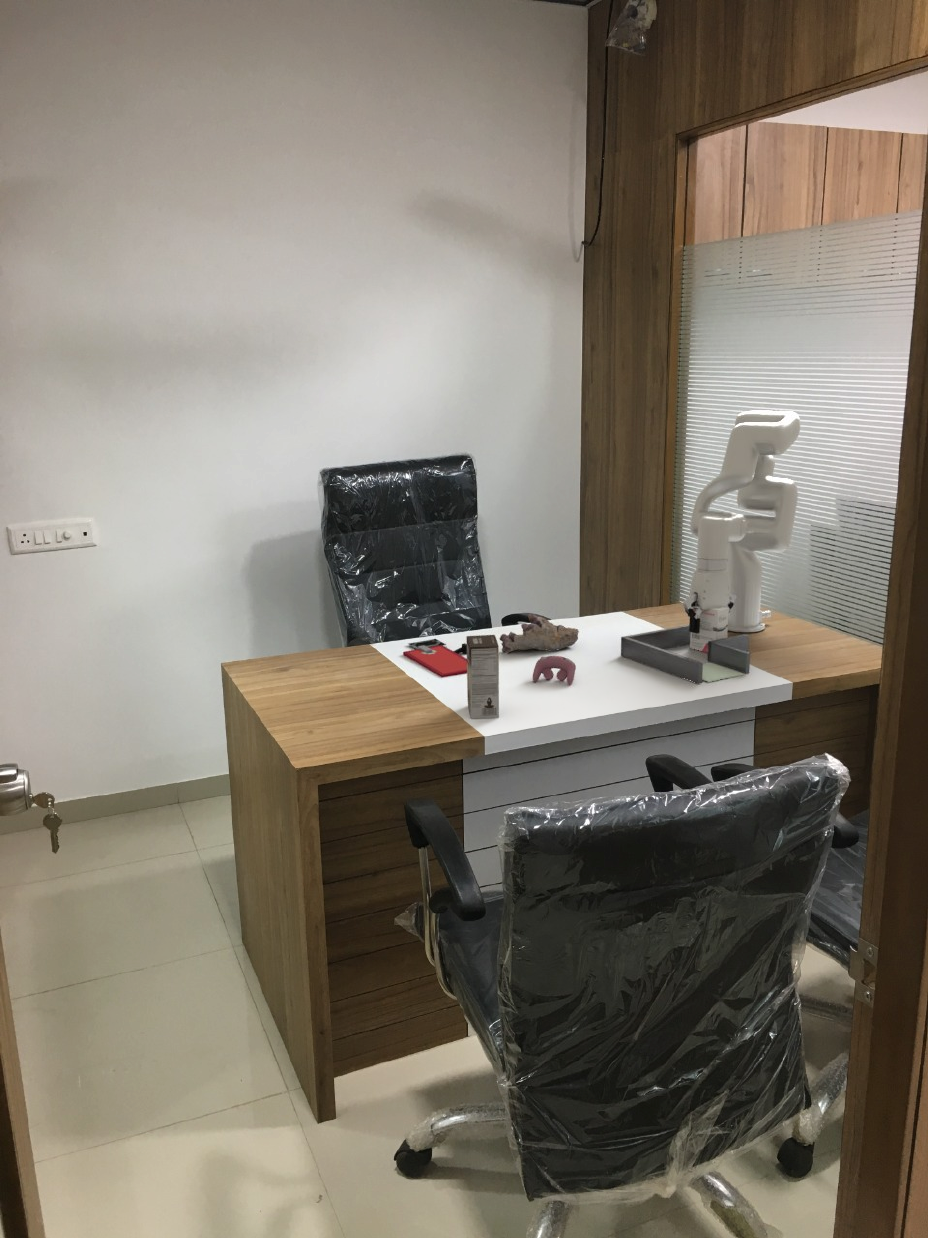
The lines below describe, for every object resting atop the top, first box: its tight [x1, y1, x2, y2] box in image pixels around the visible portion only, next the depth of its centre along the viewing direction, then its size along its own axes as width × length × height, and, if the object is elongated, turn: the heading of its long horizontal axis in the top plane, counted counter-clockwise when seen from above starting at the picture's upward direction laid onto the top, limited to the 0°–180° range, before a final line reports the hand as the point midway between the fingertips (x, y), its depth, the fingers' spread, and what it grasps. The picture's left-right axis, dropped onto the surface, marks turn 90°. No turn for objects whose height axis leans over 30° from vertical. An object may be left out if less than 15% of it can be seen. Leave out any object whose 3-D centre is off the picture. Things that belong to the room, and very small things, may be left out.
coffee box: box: [466, 634, 500, 720], centre depth 216 cm, size 9×6×16 cm
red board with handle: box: [402, 638, 467, 678], centre depth 258 cm, size 30×3×15 cm
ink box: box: [689, 605, 728, 654], centre depth 260 cm, size 8×5×12 cm, turn 39°
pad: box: [702, 662, 744, 683], centre depth 242 cm, size 11×11×1 cm
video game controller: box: [532, 655, 577, 686], centre depth 238 cm, size 10×5×7 cm, turn 71°
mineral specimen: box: [499, 613, 580, 654], centre depth 264 cm, size 20×10×10 cm
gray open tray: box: [620, 624, 751, 684], centre depth 252 cm, size 28×28×5 cm
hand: (708, 630), depth 260 cm, fingers open, 9 cm apart
